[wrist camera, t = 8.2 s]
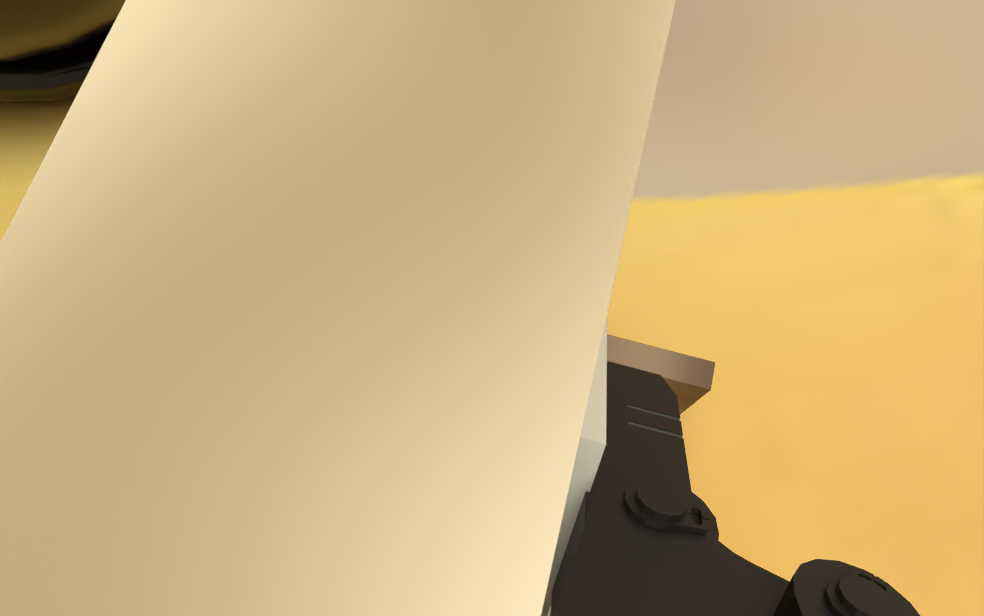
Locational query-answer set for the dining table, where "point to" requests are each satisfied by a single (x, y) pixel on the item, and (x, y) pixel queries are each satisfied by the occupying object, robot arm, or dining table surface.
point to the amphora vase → (50, 45)
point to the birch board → (316, 305)
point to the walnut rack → (665, 368)
